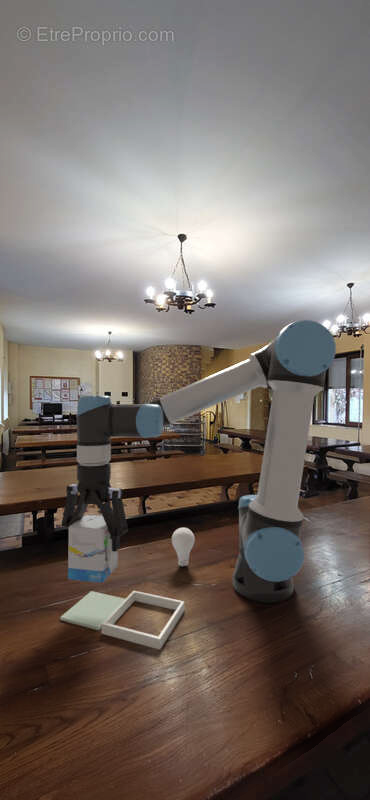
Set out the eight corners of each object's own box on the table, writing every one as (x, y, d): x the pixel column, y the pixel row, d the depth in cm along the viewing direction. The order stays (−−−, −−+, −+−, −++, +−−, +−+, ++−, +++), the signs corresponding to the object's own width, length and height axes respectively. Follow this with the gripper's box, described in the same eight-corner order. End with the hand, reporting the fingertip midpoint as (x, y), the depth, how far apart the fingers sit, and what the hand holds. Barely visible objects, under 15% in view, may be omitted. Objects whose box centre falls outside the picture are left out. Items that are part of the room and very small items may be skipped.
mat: (126, 601, 81) (126, 599, 81) (98, 630, 71) (98, 627, 71) (91, 593, 85) (91, 591, 85) (60, 619, 74) (60, 617, 74)
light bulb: (168, 569, 96) (167, 530, 97) (177, 559, 103) (177, 523, 103) (189, 573, 94) (189, 533, 94) (198, 563, 100) (197, 525, 100)
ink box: (103, 583, 73) (103, 529, 73) (66, 579, 74) (66, 526, 74) (118, 565, 81) (118, 516, 81) (85, 561, 83) (85, 513, 83)
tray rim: (184, 610, 77) (184, 601, 77) (160, 649, 65) (159, 639, 65) (133, 598, 82) (133, 590, 82) (101, 633, 70) (101, 623, 70)
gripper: (143, 462, 78) (144, 561, 77) (66, 457, 85) (66, 547, 85) (127, 468, 71) (127, 577, 70) (44, 462, 78) (44, 560, 78)
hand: (94, 561), depth 78 cm, fingers closed on ink box, 9 cm apart
